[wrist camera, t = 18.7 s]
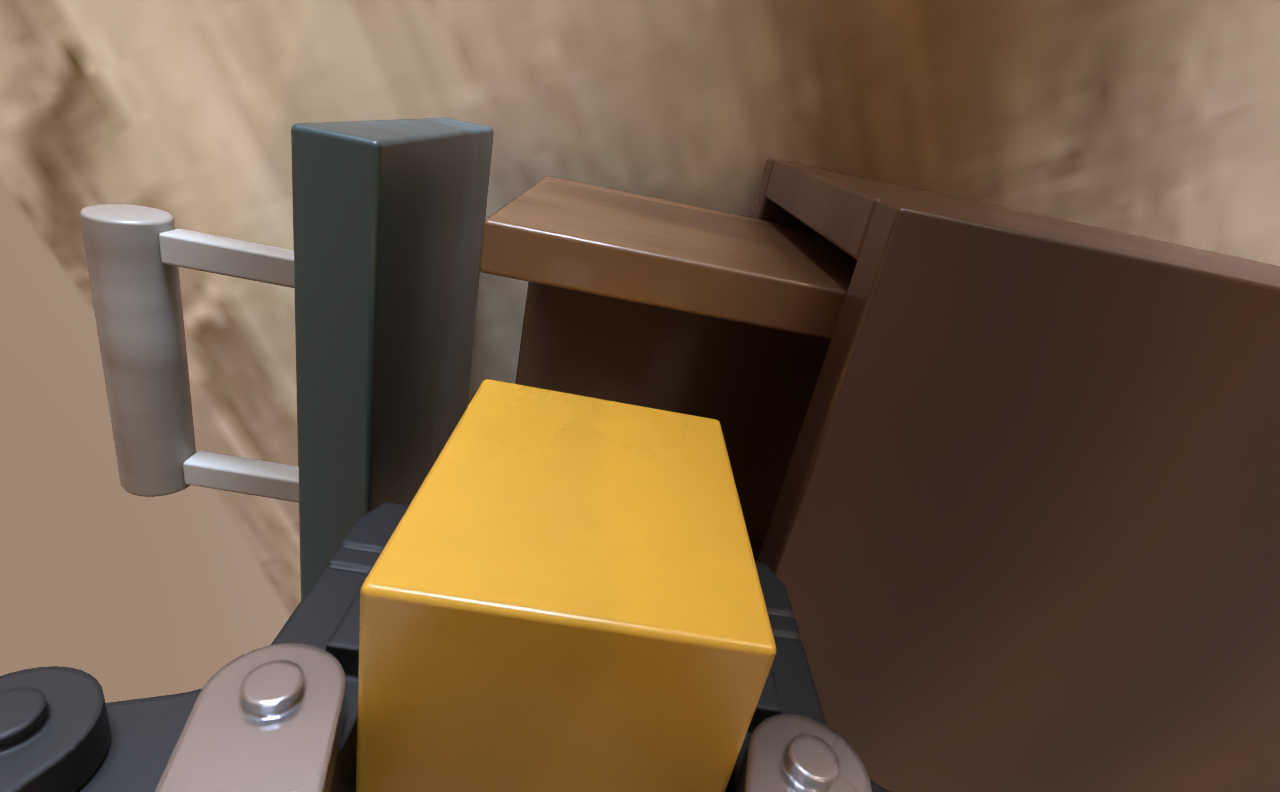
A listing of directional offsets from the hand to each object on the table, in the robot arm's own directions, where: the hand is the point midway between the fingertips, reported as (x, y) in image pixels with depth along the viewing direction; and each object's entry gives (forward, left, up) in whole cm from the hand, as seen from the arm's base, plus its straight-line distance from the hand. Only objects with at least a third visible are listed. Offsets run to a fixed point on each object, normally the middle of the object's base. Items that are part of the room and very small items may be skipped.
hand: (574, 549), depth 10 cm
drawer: (0, -1, -8) cm, 8 cm away
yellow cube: (0, 0, 0) cm, 0 cm away
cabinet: (+2, +10, -9) cm, 14 cm away
